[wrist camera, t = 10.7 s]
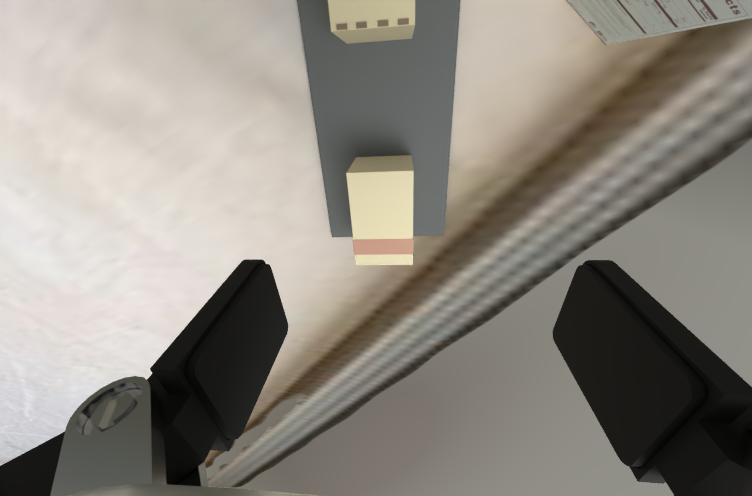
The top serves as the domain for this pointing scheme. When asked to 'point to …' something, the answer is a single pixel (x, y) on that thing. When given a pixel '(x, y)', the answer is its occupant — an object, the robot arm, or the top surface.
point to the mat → (384, 105)
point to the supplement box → (656, 16)
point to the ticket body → (372, 20)
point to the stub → (382, 209)
